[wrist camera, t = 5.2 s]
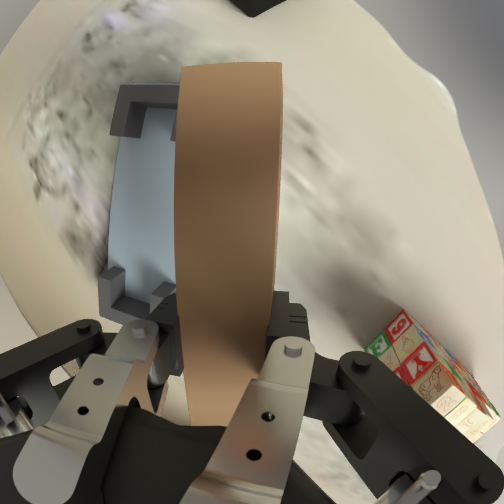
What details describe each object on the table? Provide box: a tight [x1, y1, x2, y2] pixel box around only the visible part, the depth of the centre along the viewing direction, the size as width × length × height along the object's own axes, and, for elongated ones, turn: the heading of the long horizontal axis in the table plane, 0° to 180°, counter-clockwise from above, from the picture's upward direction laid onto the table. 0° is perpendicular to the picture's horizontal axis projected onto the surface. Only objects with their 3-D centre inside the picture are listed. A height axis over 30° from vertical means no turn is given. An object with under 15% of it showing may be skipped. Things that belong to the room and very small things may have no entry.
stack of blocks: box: [364, 310, 501, 443], centre depth 21 cm, size 21×6×12 cm, turn 54°
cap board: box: [98, 82, 180, 325], centre depth 23 cm, size 24×9×4 cm, turn 168°
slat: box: [174, 62, 283, 427], centre depth 11 cm, size 18×3×5 cm, turn 178°
